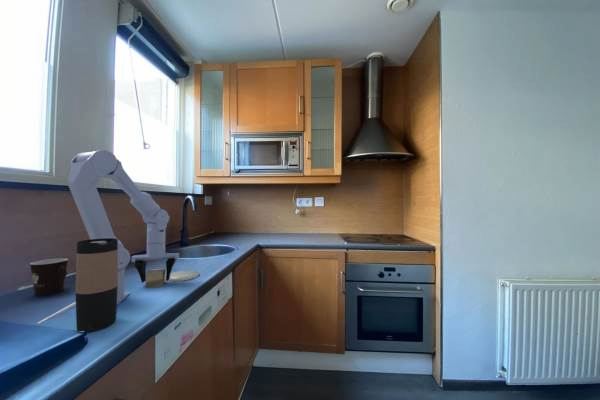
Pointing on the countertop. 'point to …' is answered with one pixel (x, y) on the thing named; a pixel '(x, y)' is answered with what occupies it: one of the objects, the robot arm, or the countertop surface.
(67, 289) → the countertop surface
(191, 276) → the saucer
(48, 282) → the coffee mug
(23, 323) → the countertop surface
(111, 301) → the travel mug
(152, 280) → the beech cube
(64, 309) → the fork
